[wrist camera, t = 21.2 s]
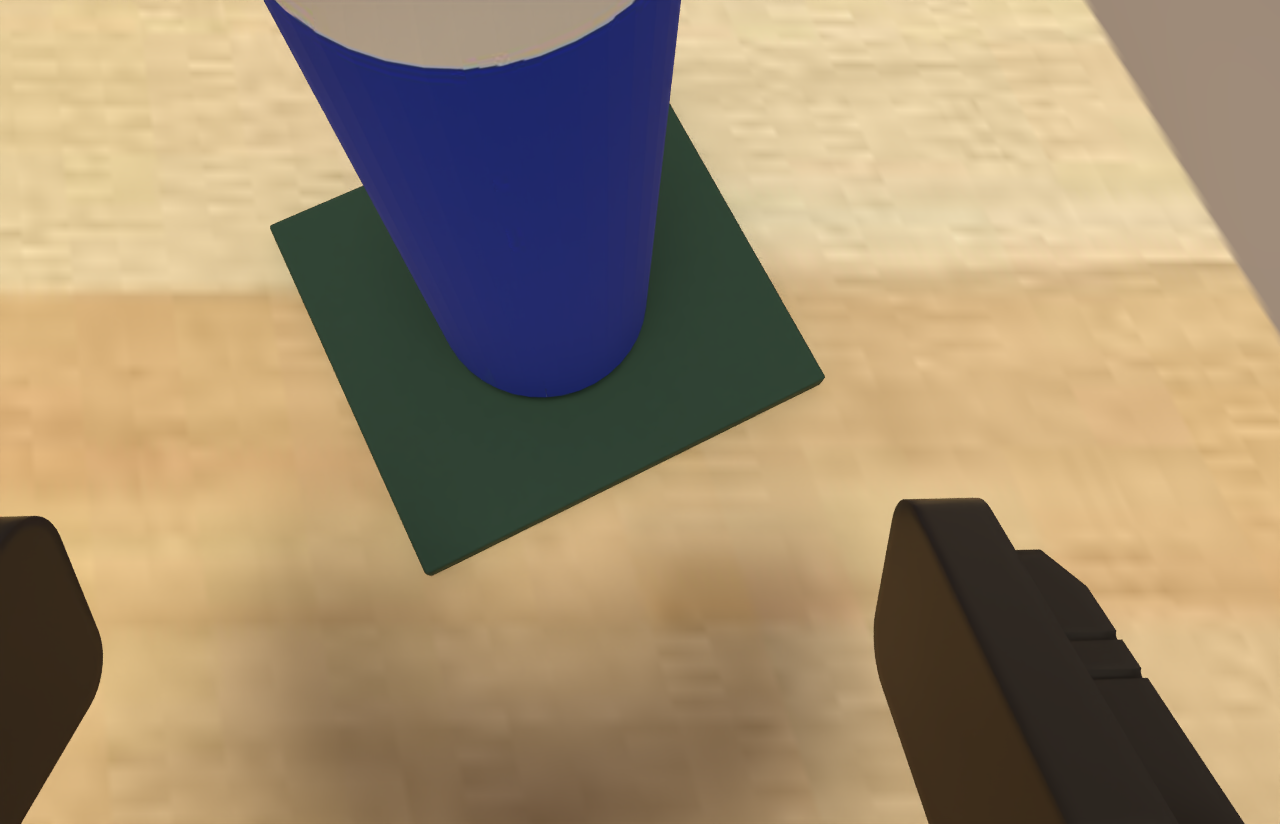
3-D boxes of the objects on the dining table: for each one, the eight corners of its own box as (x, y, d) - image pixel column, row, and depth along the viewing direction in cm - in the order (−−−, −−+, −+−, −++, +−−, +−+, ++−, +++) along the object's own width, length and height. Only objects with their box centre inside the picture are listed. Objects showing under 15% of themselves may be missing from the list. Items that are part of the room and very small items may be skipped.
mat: (646, 75, 26) (647, 62, 26) (821, 383, 24) (826, 377, 24) (276, 235, 25) (268, 225, 24) (429, 577, 23) (425, 575, 22)
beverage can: (686, 299, 24) (807, -227, 9) (550, 445, 23) (449, 110, 8) (539, 175, 25) (439, -493, 10) (399, 312, 24) (66, -212, 9)
